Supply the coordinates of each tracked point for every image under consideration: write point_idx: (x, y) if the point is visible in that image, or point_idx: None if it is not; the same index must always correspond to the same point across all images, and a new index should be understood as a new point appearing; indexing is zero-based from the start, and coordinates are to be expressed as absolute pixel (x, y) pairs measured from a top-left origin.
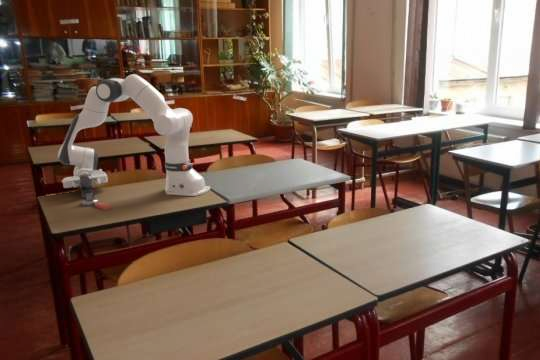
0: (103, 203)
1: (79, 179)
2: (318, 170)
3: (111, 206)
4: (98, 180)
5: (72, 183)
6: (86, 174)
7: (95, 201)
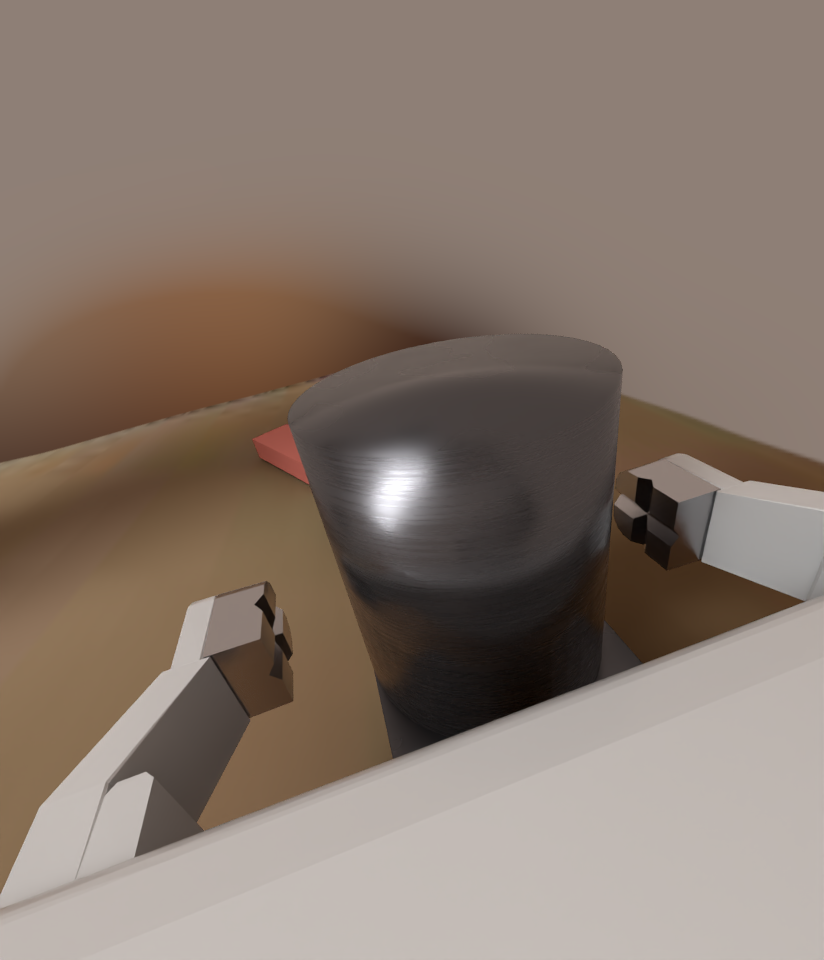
0: (292, 449)
1: (788, 613)
2: None
3: (256, 447)
4: (170, 679)
5: (799, 500)
6: (447, 441)
7: None
